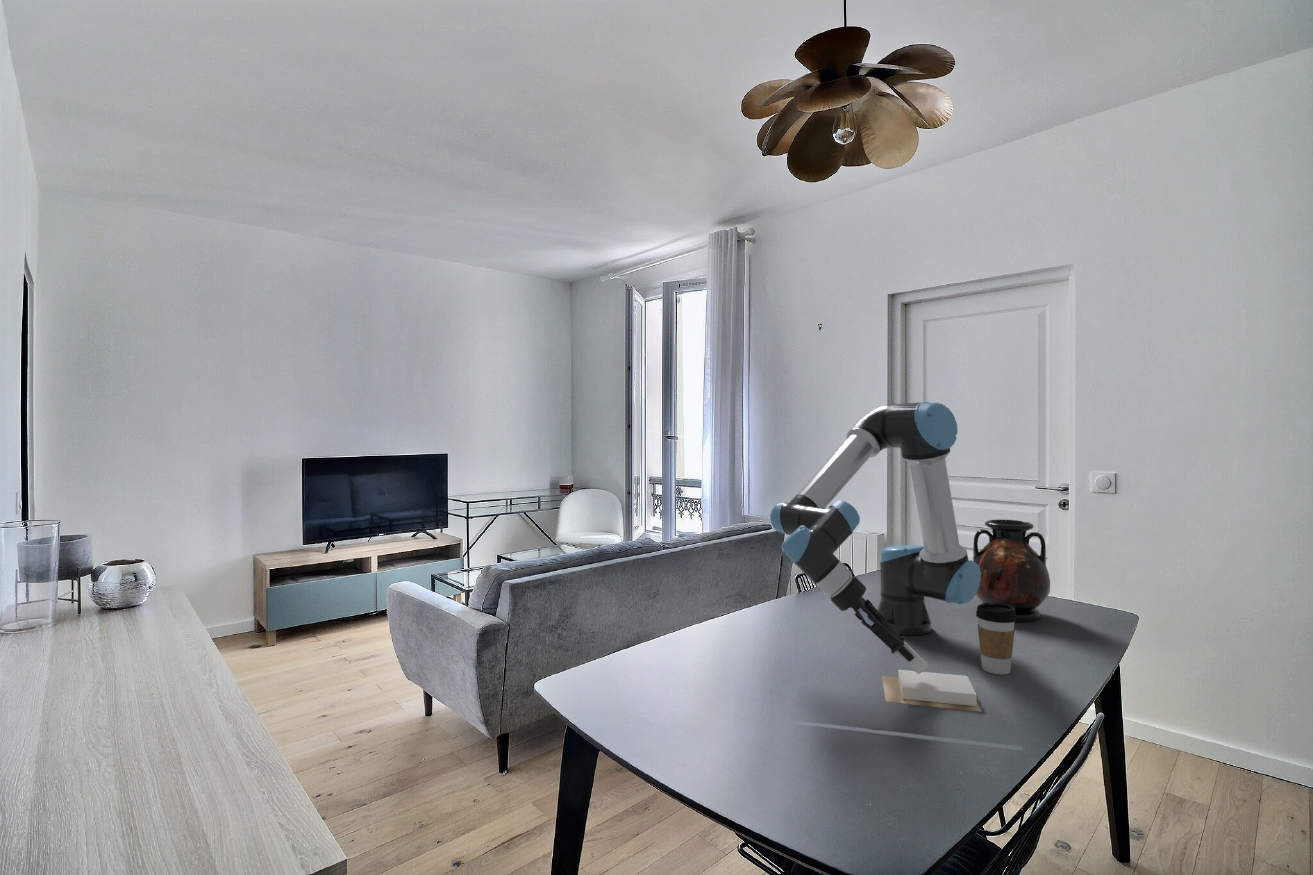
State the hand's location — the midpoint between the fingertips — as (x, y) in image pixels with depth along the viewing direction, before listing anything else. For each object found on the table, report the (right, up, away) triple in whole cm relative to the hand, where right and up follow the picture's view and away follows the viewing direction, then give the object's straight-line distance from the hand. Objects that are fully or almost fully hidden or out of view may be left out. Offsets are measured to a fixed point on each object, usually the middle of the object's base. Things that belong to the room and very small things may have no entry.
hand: (922, 669), depth 137 cm
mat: (+1, -6, 0) cm, 6 cm away
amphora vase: (+50, -4, +57) cm, 76 cm away
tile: (-4, -4, +1) cm, 6 cm away
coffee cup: (+23, -5, +14) cm, 27 cm away
